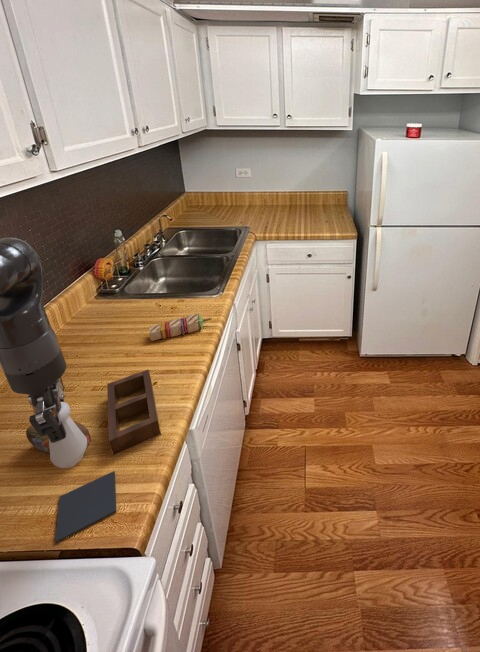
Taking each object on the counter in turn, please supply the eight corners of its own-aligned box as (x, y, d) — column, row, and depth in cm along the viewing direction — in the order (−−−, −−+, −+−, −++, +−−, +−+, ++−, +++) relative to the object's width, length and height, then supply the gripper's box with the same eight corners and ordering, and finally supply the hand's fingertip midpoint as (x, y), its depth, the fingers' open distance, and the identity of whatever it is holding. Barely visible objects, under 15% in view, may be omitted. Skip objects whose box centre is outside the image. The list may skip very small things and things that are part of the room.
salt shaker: (75, 439, 68) (58, 392, 63) (97, 448, 66) (80, 400, 61) (46, 467, 63) (24, 418, 58) (68, 477, 61) (48, 427, 56)
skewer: (151, 345, 113) (148, 333, 111) (151, 334, 118) (148, 322, 116) (213, 329, 121) (212, 317, 119) (210, 319, 126) (209, 308, 125)
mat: (55, 543, 63) (55, 542, 62) (60, 498, 70) (59, 496, 70) (116, 512, 67) (115, 510, 67) (114, 472, 75) (114, 470, 74)
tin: (30, 450, 79) (19, 425, 76) (42, 437, 82) (32, 413, 79) (87, 459, 77) (78, 434, 74) (97, 446, 80) (88, 421, 77)
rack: (113, 455, 78) (108, 441, 76) (111, 397, 93) (107, 383, 91) (160, 434, 83) (157, 420, 81) (151, 382, 98) (148, 369, 96)
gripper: (11, 338, 59) (40, 408, 65) (-10, 396, 48) (28, 474, 54) (63, 324, 62) (85, 392, 69) (55, 375, 51) (83, 450, 58)
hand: (60, 427), depth 61 cm, fingers closed on salt shaker, 4 cm apart
